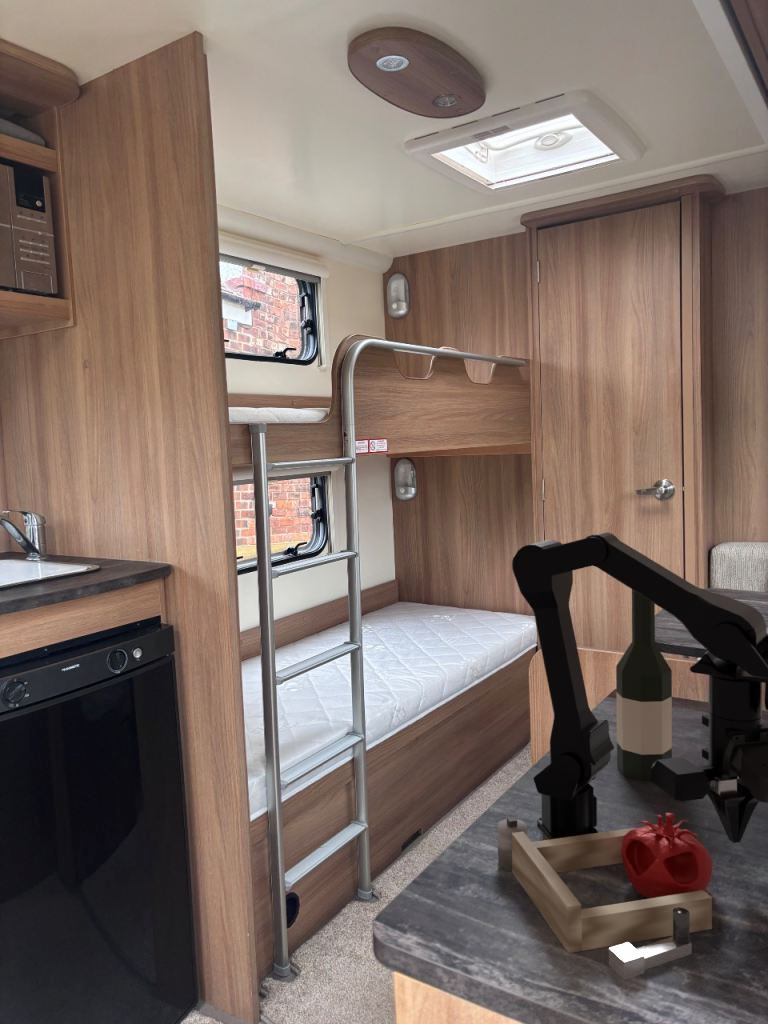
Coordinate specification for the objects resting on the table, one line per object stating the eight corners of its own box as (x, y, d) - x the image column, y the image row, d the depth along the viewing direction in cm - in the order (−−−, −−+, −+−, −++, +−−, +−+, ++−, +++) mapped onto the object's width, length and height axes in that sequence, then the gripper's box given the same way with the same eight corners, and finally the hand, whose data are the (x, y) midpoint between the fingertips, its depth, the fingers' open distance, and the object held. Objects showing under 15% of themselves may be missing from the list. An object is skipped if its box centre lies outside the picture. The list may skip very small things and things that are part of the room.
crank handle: (624, 979, 76) (624, 938, 76) (608, 965, 78) (608, 925, 78) (696, 955, 79) (695, 916, 79) (679, 942, 82) (678, 903, 81)
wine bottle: (683, 775, 122) (683, 586, 120) (640, 785, 119) (639, 591, 117) (647, 756, 130) (646, 578, 128) (606, 765, 127) (604, 583, 125)
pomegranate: (636, 861, 98) (636, 788, 98) (721, 883, 92) (721, 806, 92) (610, 897, 90) (609, 818, 90) (701, 924, 84) (700, 840, 84)
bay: (558, 954, 80) (558, 900, 80) (494, 858, 99) (493, 814, 99) (711, 928, 84) (711, 877, 83) (621, 840, 103) (620, 798, 102)
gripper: (704, 746, 82) (704, 889, 83) (857, 728, 85) (855, 865, 87) (648, 712, 93) (649, 838, 94) (786, 697, 96) (784, 819, 98)
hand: (734, 841), depth 93 cm, fingers closed
